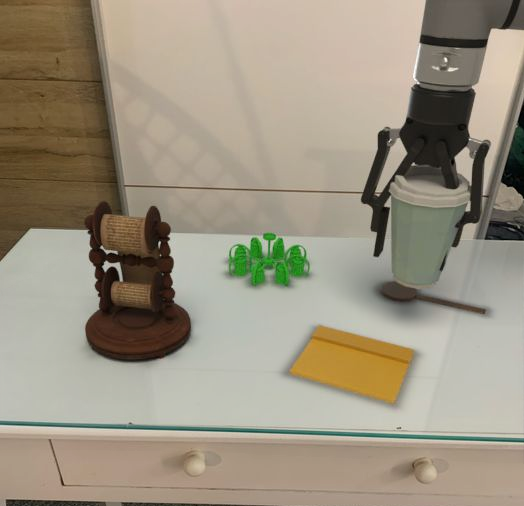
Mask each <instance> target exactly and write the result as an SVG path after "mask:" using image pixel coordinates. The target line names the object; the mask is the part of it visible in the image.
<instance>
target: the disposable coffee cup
mask: <svg viewBox="0 0 524 506" xmlns="http://www.w3.org/2000/svg"><path fill="white" fill-rule="evenodd" d="M457 174H458V179H459V184H460V185H459V187H458V189H455V190H453V189H446V184H445V180H444V176H443V175H442V171H441V167H440V168H435V167H431V166H429V165H415V164H412V165H411V167H410V168H409V170H408V171H407V172H406V174H405V175H404V176H399V175H396V176H395V182H392V183H391V185H390V189H389V192H390V193H391V196H390V238H391V239H390V242H391V243H390V244H391V246H390V248H391V249H390V250H391V251H390V253H391V258H390V259H391V273H392V278H393V280H395V281H396V282H397V283H399V284H401V285H403V286H405V287H410V288H415V289H416V290H418V289H420V290H421V289H429V288H431V287H433V286H435V285H436V284H437V282H438V281H439V280H440V277H441V275H442V272H443V271H440V270H439V269H440V267H441V264H442V262H443V260H444V257H445V255H446V252H447V255H446V259H447V260H448V256H449V254H450V251H451V250H452V249H451V248H452V247H451V246H452V244H453V241H454V238H455V236H456V233H457V231H458V228H456V227H455V226H457V225H456V224H457V223H458V222H459V221H460V220H461V218H462V215H464V212H465V211H466V210H467V207H468V204H469V203H470V202H471V184H470V183H471V182H470V181H469V180H468V179H467V178H466V177H465V176H464V175H463V174H461V173H460V172H457ZM447 250H448V251H447ZM447 260H445V262H446V263H447ZM444 265H445V266H446V264H444Z"/></svg>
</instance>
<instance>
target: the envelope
mask: <svg viewBox="0 0 524 506" xmlns="http://www.w3.org/2000/svg"><path fill="white" fill-rule="evenodd" d="M414 353H415V349H414V348H410V347H405V346H402V345H398V344H394V343H390V342H386V341H382V340H377V339H375V338H371V337H367V336H363V335H359V334H355V333H353V332H348V331H344V330H341V329H336V328H333V327H329V326H325V325H321V324H320V325H318V327H317V328H316V329H315V331H314V332H313V333H312V337H311V339H310V340H309V342H308V344H307V345H306V347H305V348H304V349H303V351H302V352H301V354H300V355H299V357H298V358H297V359H296V361H295V362H294V364H293V366H292V367H291V368H290V370H289V374H290V375H294V376H298V377H301V378H305V379H308V380H311V381H315V382H318V383H322V384H325V385H328V386H331V387H334V388H339V389H342V390H345V391H349V392H352V393H356V394H358V395H362V396H366V397H370V398H373V399H376V400H380V401H383V402H387V403H389V404H393V405H394V404H395V401H396V399H397V397H398V394H399V391H400V389H401V387H402V384H403V382H404V379H405V377H406V374H407V371H408V369H409V366H410V364H411V362H412V359H413V357H414Z"/></svg>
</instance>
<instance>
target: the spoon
mask: <svg viewBox="0 0 524 506" xmlns="http://www.w3.org/2000/svg"><path fill="white" fill-rule="evenodd" d="M417 290H418V289H416V288H410V287H405V286H403V285H401V284H399V283H397V282H396V280H395V281H387V282H384V283H383V284H382V285H381V286H380V294H381V296H383V297H384V298H387V299H389V300H392V301H395V302H410V301H413V300H415V299H416V300H420V301H423V302H424V301H425V302H428V303H432V304H437V305H441V306H445V307H446V306H447V307H450V308H455V309H459V310H464V311H466V312H467V311H468V312H472V313H477V314H481V315H486V311H487V309H486V308H481V307H477V306H473V305H468V304H465V303H460V302H455V301H452V300H451V301H450V300H446V299H443V298H437V297H433V296H428V295H424V294H420V293H418V291H417Z"/></svg>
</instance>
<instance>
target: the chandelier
mask: <svg viewBox="0 0 524 506" xmlns="http://www.w3.org/2000/svg"><path fill="white" fill-rule="evenodd" d="M262 239H263V240H264V241H268V242H267V256H265V255H264V254H263V245H262V242H261V240H260V239H259V238H258V237H257V236H253V237H252V238H251V239H250V245H249V247H248V246H246V245H245V244H242V243H237V244H233V245H232V247H231V248H230V249H229V251H228V257H229V260H230V261H229V263H228V271H229V274H231V275H232V276H237V277H244V276H246V274H249V273H251V276H250V277H251V279H250V280H251V284H252V286H257V285H262V284H263V283H264V282H265V269H264V268H265V267H266V266H272V267H273V268H274V270H275V271H274V272H275V277H274V278H275V280H274V281H275V283H277V284H278V285H283V286H284V287H286V286H288V284H289V282H290V274H291V275H292V276H293V277H302V276H303V277H306V276H307V275H308V274H309V272H310V268H311V266H310V262H309V260H308V259H307V254H308V253H307V250H306V248H305V247H304V246H303V245H301V244H294V245H293V244H292V245H291V246H290V247H289V248H288V249H287V250H285V243H284V239H283V237H279V236H278V237H277V235H276V234H275V233H274V232H265V233H263V234H262ZM271 241H272V242H273V241H274V242H273V245H272V254H271ZM233 248H235V249H234V250H235V251H234V253H233V254H234V255H233V257H232V250H233ZM301 248H302V249H303V252H304V254H303V255H302V253H303V252H302V249H301ZM247 253H248V254H247ZM288 254H289V256H288ZM262 257H263V258H262ZM247 258H248V260H249V261H248V262H247ZM252 260H257V261H256V262H253V261H252ZM281 260H284V261H281ZM233 263H234V265H233V267H234V273H233V272H232V269H231V268H232V264H233ZM305 263H306V266H307V271H306V273H305V274H304V271H305V270H304V268H305ZM248 266H249V267H248ZM289 266H290V269H289ZM303 274H304V275H303Z"/></svg>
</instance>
